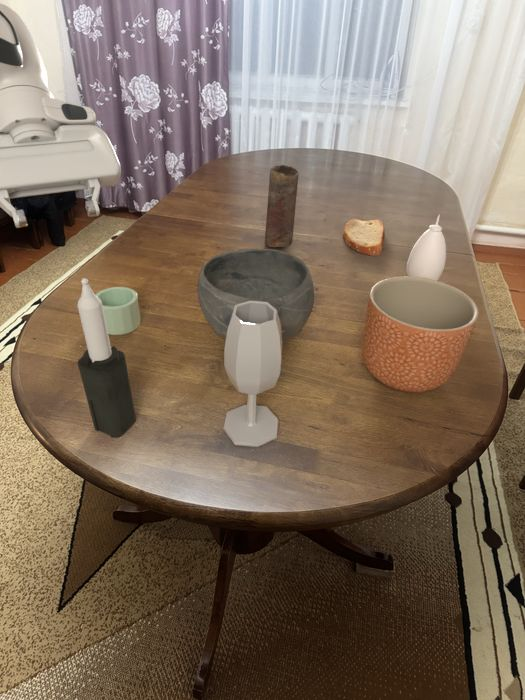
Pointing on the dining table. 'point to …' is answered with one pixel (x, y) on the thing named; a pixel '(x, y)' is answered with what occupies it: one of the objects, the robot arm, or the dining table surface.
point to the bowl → (256, 287)
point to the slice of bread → (364, 236)
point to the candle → (103, 370)
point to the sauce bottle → (428, 254)
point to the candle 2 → (281, 206)
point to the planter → (416, 332)
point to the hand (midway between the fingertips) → (59, 220)
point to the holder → (120, 309)
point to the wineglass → (252, 370)
